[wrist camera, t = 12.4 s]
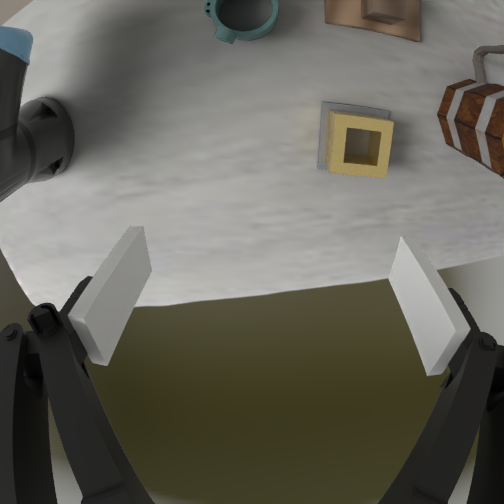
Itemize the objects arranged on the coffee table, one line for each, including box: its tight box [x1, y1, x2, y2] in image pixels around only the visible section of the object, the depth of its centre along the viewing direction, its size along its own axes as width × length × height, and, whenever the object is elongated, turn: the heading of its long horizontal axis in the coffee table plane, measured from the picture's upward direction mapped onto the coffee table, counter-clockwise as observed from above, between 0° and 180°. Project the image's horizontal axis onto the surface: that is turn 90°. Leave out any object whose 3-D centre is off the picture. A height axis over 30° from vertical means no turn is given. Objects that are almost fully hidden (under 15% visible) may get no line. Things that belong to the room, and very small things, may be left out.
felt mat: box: [317, 102, 389, 169], centre depth 41 cm, size 10×10×1 cm
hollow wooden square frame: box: [324, 110, 394, 178], centre depth 39 cm, size 8×8×5 cm
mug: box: [437, 45, 504, 178], centre depth 29 cm, size 20×14×15 cm
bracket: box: [205, 0, 278, 44], centre depth 29 cm, size 9×9×9 cm
